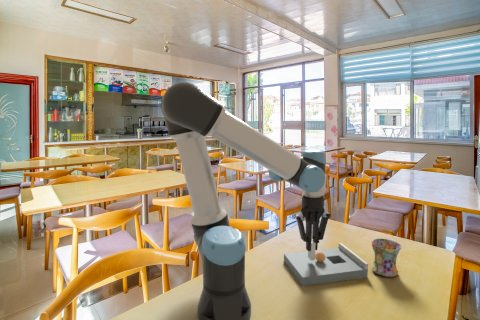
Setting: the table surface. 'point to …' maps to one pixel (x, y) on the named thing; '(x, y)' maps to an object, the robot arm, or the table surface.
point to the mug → (385, 257)
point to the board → (327, 266)
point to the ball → (320, 256)
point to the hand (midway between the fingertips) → (311, 258)
